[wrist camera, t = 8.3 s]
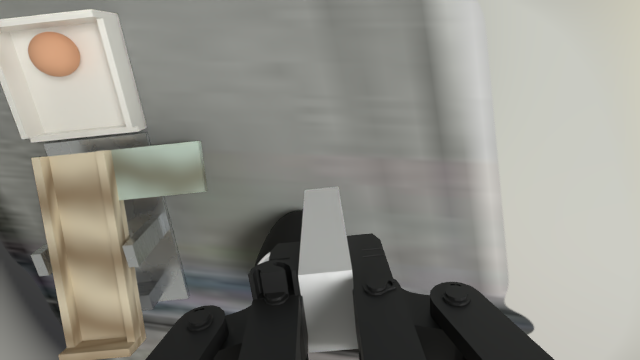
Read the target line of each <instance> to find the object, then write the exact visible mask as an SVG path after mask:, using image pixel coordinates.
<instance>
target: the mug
mask: <svg viewBox="0 0 640 360" xmlns="http://www.w3.org/2000/svg"><path fill="white" fill-rule="evenodd" d="M302 218H303V211H296V212H292V213H289V214H287V215H285V216H284V217H282V218H281V219H280V220H279V221H278V222H277V223H276V224H275V225H274V227H273V228H272V229H271V231H270V233H269V234H268V236H267V238H266V240H265V242H264V244H263V246H262V248H261V250H260V253H259V255H258V258H257V261H256V264H255V266H257V265H258V264H261V263H263V262H265V261H269V256H270V251H271V250H272V249H273V248H274V247H275V246H276V245H277V244H279V243H289V242H300V241H301V231H302Z"/></svg>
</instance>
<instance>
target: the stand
mask: <svg viewBox="0 0 640 360" xmlns="http://www.w3.org/2000/svg"><path fill="white" fill-rule="evenodd" d="M145 146H151V144H150V140H149V136H148V133H147V132H145V133H135V134H126V135H116V136H107V137H97V138H87V139H78V140H68V141H58V142H49V143H45V144H44V147H45V150H46V153H47V156H58V155H68V154H77V153H87V152H95V151H103V150H116V149H126V148H136V147H145ZM124 205H125V211H126V217H127V224H128V230H129V236H130V239H129V240H128V241H127V242H126V243H125V244H124V245H123V246H122V247H123V250H124V254H125V257H126V260H127V263H128V266H129V268H130V267H135V273H136V279H137V285H138V291H139V298H140V304H141V310H142V311H144V310H153V309H154V307H155V306H156V304H157V303H158V301H168V300H179V299H188V298H189V296H190V294H189V290H188V286H187V283H186V279H185V275H184V271H183V267H182V263H181V259H180V256H179V252H178V248H177V244H176V240H175V236H174V233H173V229H172V225H171V221H170V217H169V213H168V209H167V206H166V202H165V198H164V196H158V197H148V198H138V199H128V200H124ZM31 257H32V260H33V262H34V265H35V267H36V269H37V272H38V274H39V276H46V275H50V274H51V273H52V272H53V271H52V266H51V260H50V255H49V250H48V244H47V243H46V244H45V245H44V246H42V247H41V248H39V249H38V250H37V251H35V252H34V253H33V254H31Z"/></svg>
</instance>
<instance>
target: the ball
mask: <svg viewBox="0 0 640 360" xmlns="http://www.w3.org/2000/svg"><path fill="white" fill-rule="evenodd" d="M28 54H29V58H30V60H31V62H32V63H33V64H34V66H35V67H36V68H37V69H39V70H40V71H41V72H43V73H45V74H47V75H50V76H56V77H63V76H67V75H70V74H72V73H73V72H74V71H75V70H76V69H77V68H78V66H79V64H80V52H79V50H78V48H77V46H76V45H75V43H74V42H73V41H72V40H71V39H69V38H68V37H66V36H65V35H63V34H60V33H56V32H43V33H40V34H37V35H36V36H34V37H33V38H32V40H31V41H30V43H29V46H28Z"/></svg>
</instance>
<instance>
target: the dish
mask: <svg viewBox="0 0 640 360" xmlns="http://www.w3.org/2000/svg"><path fill="white" fill-rule="evenodd" d="M43 32H56V33H60V34H63V35H65V36H66V37H68V38H69V39H71V40H72V41H73V42H74V43H75V45H76V46H77V48H78V50H79V52H80V64H79V66H78V68H77V69H76V70H75V71H74V72H73V73H72V74H70V75H67V76H63V77H56V76H50V75H47V74H45V73H43V72H41V71H40V70H39V69H37V68H36V67H35V66H34V64H33V63H32V62H31V60H30V58H29V54H28V46H29V43H30V41H31V40H32V38H33V37H34V36H36V35H37V34H40V33H43ZM0 82H1V85H2V88H3V90H4V93H5V96H6V98H7V101H8V104H9V106H10V109H11V112H12V114H13V117H14V120H15V122H16V125H17V128H18V130H19V133H20V136H21V138H22V139H28V138H30V141H31V143H33V142H43V141H52V140H62V139H71V138H81V137H91V136H100V135H110V134H120V133H129V132H139V131H141V130H143V129H145V128H147V125H146V121H145V117H144V114H143V110H142V106H141V102H140V98H139V94H138V90H137V87H136V83H135V79H134V75H133V71H132V67H131V63H130V60H129V56H128V52H127V48H126V44H125V40H124V36H123V33H122V29H121V25H120V21H119V17H118V14H116V13H111V12H105V11H99V10H93V9H88V10H79V11H70V12H61V13H52V14H43V15H34V16H25V17H16V18H7V19H0Z"/></svg>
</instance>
